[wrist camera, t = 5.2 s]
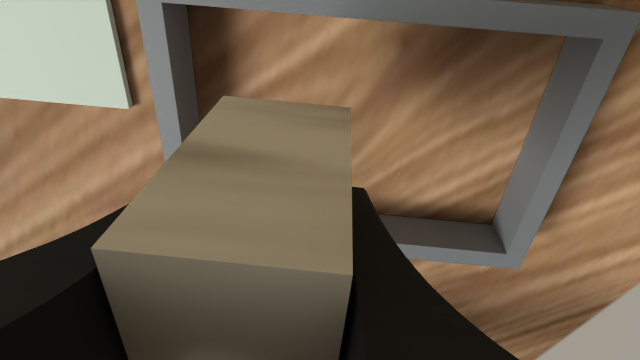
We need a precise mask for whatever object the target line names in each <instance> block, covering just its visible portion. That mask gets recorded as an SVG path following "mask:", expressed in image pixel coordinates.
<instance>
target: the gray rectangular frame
mask: <svg viewBox="0 0 640 360" xmlns="http://www.w3.org/2000/svg"><path fill="white" fill-rule="evenodd" d="M136 3H137V9H138V14H139V20H140V26H141V31H142V37H143V43H144V48H145V54H146V60H147V65H148V71H149V77H150V82H151V88H152V93H153V99H154V105H155V110H156V116H157V122H158V127H159V133H160V139H161V144H162V150H163V155H164V161H165V162H166V161H167V160H168V159H169V158H170V156H171V155H172V154H173V153H174V152H175V151H176V150H177V148H178V147H179V146H180V145H181V144H182V143H183V141H184V140H185V139H186V138H187V137H188V136H189V135H190V133H191V132H192V131H193V130H194V129H195V128H196V127H197V125H198V124H199V123H200V120H199V112H198V103H197V94H196V85H195V76H194V67H193V58H192V49H191V40H190V32H189V23H188V14H187V5H199V6H211V7H223V8H235V9H247V10H259V11H271V12H283V13H295V14H307V15H319V16H331V17H343V18H355V19H367V20H379V21H391V22H403V23H415V24H427V25H439V26H451V27H463V28H475V29H487V30H499V31H511V32H522V33H534V34H546V35H558V36H567V37H566V39H565V42H564V44H563V47H562V49H561V52H560V54H559V57H558V59H557V62H556V64H555V67H554V69H553V72H552V74H551V77H550V79H549V82H548V84H547V87H546V89H545V92H544V94H543V97H542V99H541V102H540V104H539V107H538V109H537V112H536V114H535V117H534V119H533V122H532V124H531V127H530V129H529V132H528V134H527V137H526V139H525V142H524V144H523V147H522V149H521V152H520V154H519V157H518V159H517V162H516V164H515V167H514V169H513V172H512V174H511V177H510V179H509V182H508V184H507V187H506V189H505V192H504V195H503V197H502V200H501V202H500V205H499V207H498V210H497V212H496V215H495V217H494V220H493V222H492V225H487V224H477V223H466V222H455V221H445V220H434V219H424V218H413V217H403V216H392V215H381V214H378V215H379V217H380V219H381V221H382V222H383V224H384V225H385V227H386V229H387V230H388V232H389V233H390V235H391V236H392V238H393V239H394V241H395V242H396V244H397V245H398V247H399V248H400V249H401V251H402V252H403V253H404V255H405V256H406V257H407V259H417V260H427V261H438V262H448V263H459V264H469V265H479V266H490V267H500V268H510V269H519V268H520V266H521V264H522V262H523V260H524V258H525V256H526V254H527V252H528V250H529V248H530V246H531V243H532V241H533V239H534V237H535V235H536V233H537V231H538V229H539V227H540V225H541V223H542V221H543V219H544V217H545V215H546V213H547V211H548V209H549V207H550V205H551V203H552V201H553V199H554V197H555V194H556V192H557V190H558V188H559V186H560V184H561V182H562V180H563V178H564V176H565V174H566V172H567V170H568V168H569V166H570V164H571V162H572V160H573V158H574V156H575V154H576V152H577V150H578V148H579V145H580V143H581V141H582V139H583V137H584V135H585V133H586V131H587V129H588V127H589V125H590V123H591V121H592V119H593V117H594V115H595V113H596V111H597V109H598V107H599V105H600V103H601V101H602V99H603V96H604V94H605V92H606V90H607V88H608V86H609V84H610V82H611V80H612V78H613V76H614V74H615V72H616V70H617V68H618V66H619V64H620V62H621V60H622V58H623V56H624V54H625V52H626V50H627V47H628V45H629V43H630V41H631V39H632V37H633V35H634V33H635V31H636V29H637V27H638V25H639V23H640V12H638V11H633V10H628V9H623V8H618V7H614V6H609V5H603V4H591V3H579V2H567V1H554V0H136ZM186 4H187V5H186Z"/></svg>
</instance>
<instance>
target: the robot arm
mask: <svg viewBox="0 0 640 360" xmlns="http://www.w3.org/2000/svg"><path fill="white" fill-rule="evenodd" d="M128 205H129V204H128ZM128 205H126V206H124V207H122V208H120V209H118V210H117V211H115V212H113V213H111V214H109V215H107V216H105V217H103V218H102V219H100V220H98V221H96V222H94V223H92V224H90V225H88V226H86V227H83V228H81V229H79V230H77V231H75V232H72V233H70V234H68V235H66V236H63V237H61V238H59V239H57V240H54V241H52V242H49V243H47V244H44V245H41V246H39V247H36V248H33V249H31V250H28V251H25V252H23V253H20V254H17V255H15V256H12V257H9V258H6V259H4V260H1V261H0V360H129V359H128V356H127V353H126V350H125V348H124V345H123V342H122V339H121V336H120V333H119V330H118V327H117V324H116V321H115V318H114V315H113V312H112V309H111V306H110V303H109V300H108V298H107V295H106V292H105V289H104V286H103V283H102V280H101V277H100V274H99V271H98V268H97V265H96V262H95V259H94V256H93V253H92V250H91V247H92V246H93V245H94V244H95V243H96V242H97V240H98V239H99V238H100V237H101V236H102V235H103V234H104V232H105V231H106V230H107V229H108V228H109V227H110V225H111V224H112V223H113V222H114V221H115V220H116V219H117V217H118V216H119V215H120V214H121V213H122V212H123V211H124V209H125V208H126V207H127V206H128ZM352 248H353V277H352V283H351V289H350V295H349V301H348V306H347V312H346V318H345V324H344V330H343V335H342V341H341V347H340V353H339V359H338V360H519V359H517V358H516V357H515V356H513V355H512V354H510V353H509V352H508V351H506V350H505V349H504V348H502V347H501V346H499V345H498V344H497V343H495V342H494V341H493V340H491V339H490V338H489V337H488V336H486V335H485V334H484V333H483V332H481V331H480V330H479V329H478V328H477V327H475V326H474V325H473V324H472V323H470V322H469V321H468V320H467V319H466V318H465V317H463V316H462V315H461V314H460V313H459V312H458V311H457V310H456V309H454V308H453V307H452V306H451V305H450V304H449V303H448V302H447V301H446V300H445V299H444V298H443V297H442V296H441V295H440V294H439V293H438V292H437V291H436V290H435V289H434V288H433V287H432V286H431V285H430V284H429V283H428V282H427V281H426V280H425V279H424V278H423V277H422V275H421V274H420V273H419V272H418V271H417V270H416V269H415V267H414V266H413V265H412V264H411V262H410V261H409V260H408V259H407V257H406V256H405V255H404V253H403V252H402V251H401V249H400V248H399V247H398V245H397V244H396V242H395V241H394V239H393V238H392V236H391V235H390V233H389V232H388V230H387V229H386V227H385V225H384V224H383V222H382V221H381V219H380V217H379V215H378V214H377V212H376V210H375V208H374V206H373V204H372V202H371V200H370V198H369V196H368V194H367V192H366V190H365V189H364V188H359V187H352Z"/></svg>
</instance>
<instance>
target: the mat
mask: <svg viewBox="0 0 640 360" xmlns="http://www.w3.org/2000/svg"><path fill="white" fill-rule="evenodd" d="M0 98H12V99H23V100H34V101H45V102H56V103H67V104H78V105H90V106H101V107H112V108H123V109H130V108H131V107H133V104H132V100H131V95H130V90H129V85H128V81H127V76H126V71H125V66H124V62H123V57H122V52H121V47H120V43H119V38H118V33H117V28H116V24H115V19H114V14H113V9H112V5H111V0H0Z"/></svg>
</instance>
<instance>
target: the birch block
mask: <svg viewBox="0 0 640 360" xmlns="http://www.w3.org/2000/svg"><path fill="white" fill-rule="evenodd" d="M91 250H92V253H93V256H94V259H95V262H96V265H97V268H98V271H99V274H100V277H101V280H102V283H103V286H104V289H105V292H106V295H107V298H108V300H109V303H110V306H111V309H112V312H113V315H114V318H115V321H116V324H117V327H118V330H119V333H120V336H121V339H122V342H123V345H124V348H125V350H126V353H127V356H128V359H129V360H338V359H339V353H340V347H341V341H342V335H343V330H344V324H345V318H346V312H347V306H348V301H349V295H350V289H351V283H352V277H353V248H352V169H351V108H348V107H337V106H327V105H316V104H306V103H295V102H285V101H274V100H264V99H253V98H243V97H233V96H223V97H222V98H221V99H220V100H219V101H218V102H217V104H216V105H215V106H214V107H213V108H212V109H211V110H210V112H209V113H208V114H207V115H206V116H205V117H204V118H203V120H202V121H201V122H200V123H199V124H198V125H197V127H196V128H195V129H194V130H193V131H192V132H191V133H190V135H189V136H188V137H187V138H186V139H185V140H184V141H183V143H182V144H181V145H180V146H179V147H178V148H177V150H176V151H175V152H174V153H173V154H172V155H171V156H170V158H169V159H168V160H167V161H166V162H165V163H164V165H163V166H162V167H161V168H160V169H159V170H158V171H157V173H156V174H155V175H154V176H153V177H152V178H151V179H150V181H149V182H148V183H147V184H146V185H145V186H144V188H143V189H142V190H141V191H140V192H139V193H138V194H137V196H136V197H135V198H134V199H133V200H132V201H131V202H130V204H129V205H128V206H127V207H126V208H125V209H124V211H123V212H122V213H121V214H120V215H119V216H118V217H117V219H116V220H115V221H114V222H113V223H112V224H111V225H110V227H109V228H108V229H107V230H106V231H105V232H104V234H103V235H102V236H101V237H100V238H99V239H98V240H97V242H96V243H95V244H94V245H93V246H92V247H91Z"/></svg>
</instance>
